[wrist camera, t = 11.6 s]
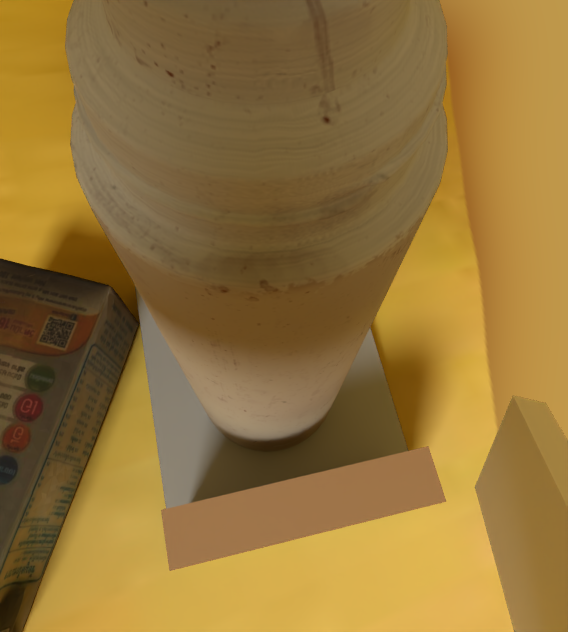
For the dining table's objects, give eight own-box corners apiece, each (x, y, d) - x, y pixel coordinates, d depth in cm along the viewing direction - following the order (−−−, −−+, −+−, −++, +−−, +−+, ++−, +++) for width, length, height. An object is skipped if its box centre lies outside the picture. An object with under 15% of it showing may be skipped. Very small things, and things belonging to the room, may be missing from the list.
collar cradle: (138, 289, 35) (102, 224, 28) (341, 250, 37) (359, 177, 29) (177, 564, 29) (145, 577, 22) (419, 504, 31) (467, 496, 23)
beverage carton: (-120, 607, 28) (-227, 629, 22) (32, 291, 35) (-18, 242, 29) (20, 649, 28) (-51, 683, 22) (145, 320, 35) (119, 275, 29)
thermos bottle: (192, 334, 33) (-101, -392, 7) (318, 312, 34) (474, -420, 8) (211, 464, 30) (-170, 54, 4) (348, 437, 31) (760, -59, 5)
